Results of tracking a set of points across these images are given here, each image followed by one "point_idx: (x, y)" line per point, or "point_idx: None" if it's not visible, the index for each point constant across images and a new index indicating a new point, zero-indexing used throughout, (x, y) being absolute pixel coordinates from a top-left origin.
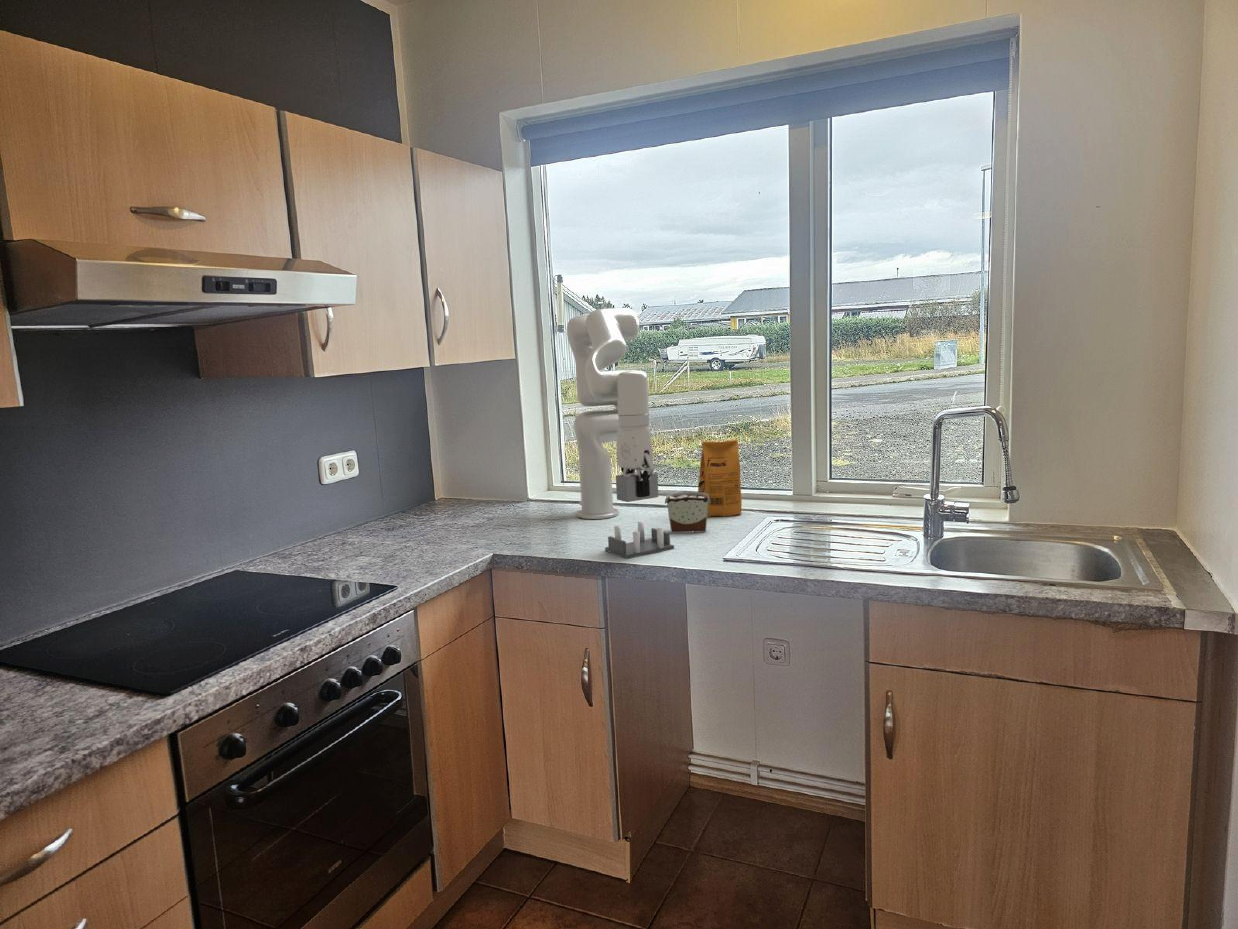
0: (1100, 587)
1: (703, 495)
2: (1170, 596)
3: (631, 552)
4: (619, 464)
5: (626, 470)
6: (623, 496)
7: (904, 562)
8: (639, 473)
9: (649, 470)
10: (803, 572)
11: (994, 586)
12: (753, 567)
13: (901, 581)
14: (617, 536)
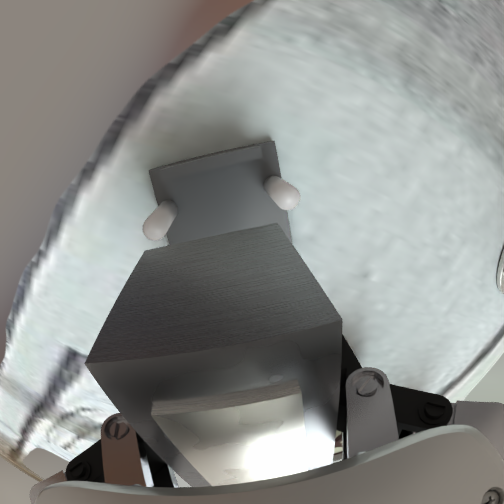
0: (12, 455)
1: (341, 454)
2: (4, 455)
3: (172, 194)
4: (418, 457)
5: (347, 441)
6: (184, 253)
7: (58, 451)
8: (112, 464)
9: (41, 483)
10: (18, 386)
11: (4, 435)
12: (35, 361)
13: (3, 415)
14: (270, 185)
